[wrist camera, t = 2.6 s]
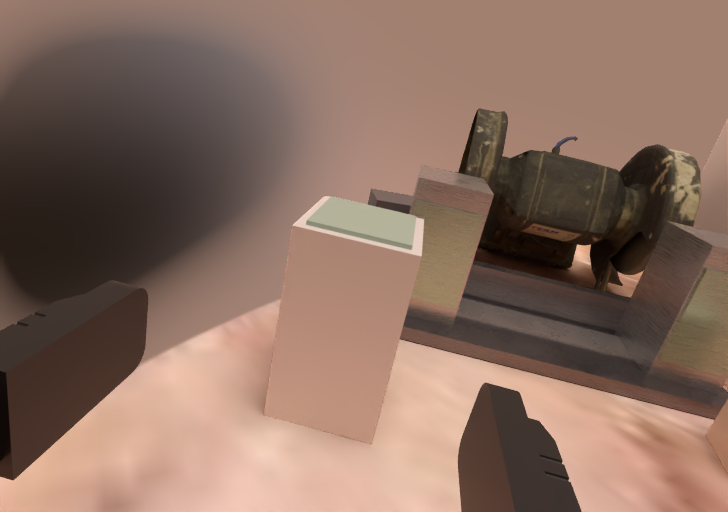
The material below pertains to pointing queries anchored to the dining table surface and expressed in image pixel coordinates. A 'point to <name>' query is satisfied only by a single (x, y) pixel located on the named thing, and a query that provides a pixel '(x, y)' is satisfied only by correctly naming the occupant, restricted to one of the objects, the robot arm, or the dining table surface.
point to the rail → (573, 307)
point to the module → (342, 315)
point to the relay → (390, 201)
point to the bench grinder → (579, 201)
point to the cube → (715, 190)
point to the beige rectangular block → (720, 435)
